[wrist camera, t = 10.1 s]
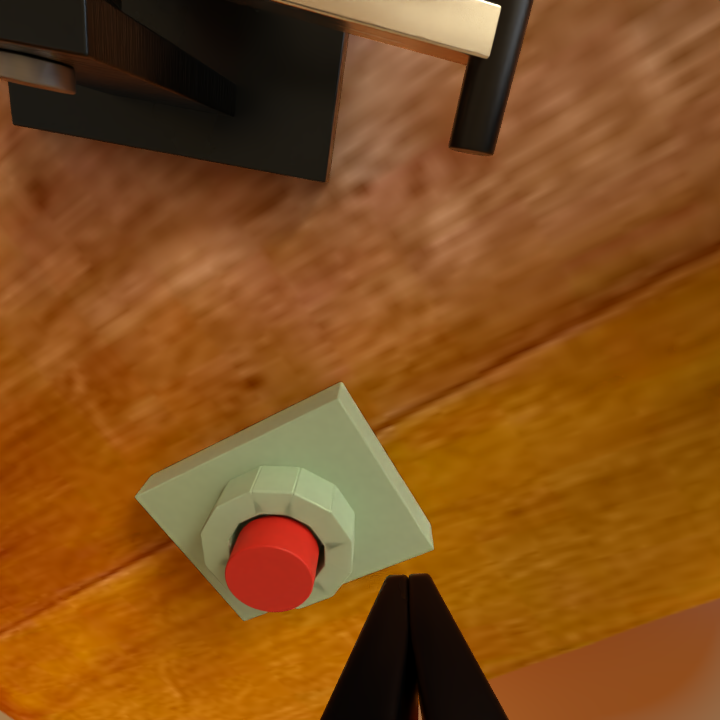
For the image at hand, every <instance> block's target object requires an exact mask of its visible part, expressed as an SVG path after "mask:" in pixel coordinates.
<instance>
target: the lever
mask: <svg viewBox="0 0 720 720" xmlns="http://www.w3.org/2000/svg"><path fill="white" fill-rule="evenodd" d="M106 1H107V2H109V3H110V4H112V5H113V6H115V7H117V8H118V9H120V10H122V0H106ZM227 1H230V2H234V3H238V4H241V5H245V6H249V7H252V8H256V9H260V10H263V11H267V12H271V13H275V14H278V15H282V16H286V17H289V18H293V19H297V20H300V21H304V22H308V23H312V24H315V25H319V26H323V27H326V28H330V29H334V30H337V31H341V32H345V33H348V34H352V35H356V36H360V37H363V38H367V39H371V40H374V41H378V42H382V43H385V44H389V45H393V46H397V47H400V48H404V49H408V50H411V51H415V52H419V53H422V54H426V55H430V56H434V57H437V58H441V59H445V60H448V61H452V62H456V63H459V64H463V65H466V70H465V74H464V79H463V83H462V88H461V92H460V97H459V101H458V106H457V110H456V114H455V119H454V123H453V128H452V132H451V137H450V141H449V148H450V149H451V150H454V151H458V152H463V153H468V154H474V155H481V156H492V155H493V154H494V151H495V147H496V143H497V139H498V135H499V131H500V128H501V124H502V120H503V116H504V112H505V108H506V104H507V101H508V97H509V93H510V89H511V85H512V81H513V78H514V74H515V70H516V66H517V62H518V58H519V54H520V51H521V47H522V43H523V39H524V35H525V31H526V27H527V24H528V20H529V16H530V12H531V8H532V4H533V0H227Z"/></svg>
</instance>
